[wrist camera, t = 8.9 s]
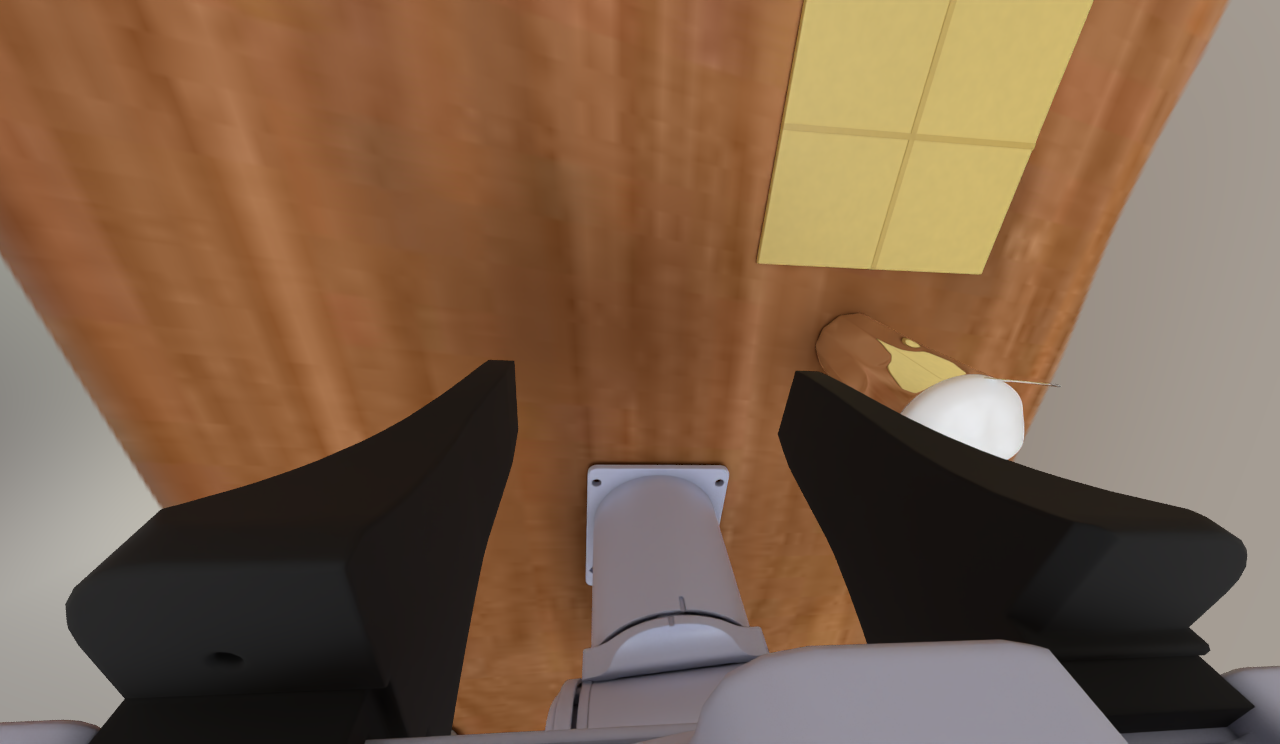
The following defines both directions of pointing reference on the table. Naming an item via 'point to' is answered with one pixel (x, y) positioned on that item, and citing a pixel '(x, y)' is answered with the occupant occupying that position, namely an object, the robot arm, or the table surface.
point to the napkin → (911, 129)
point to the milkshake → (924, 384)
